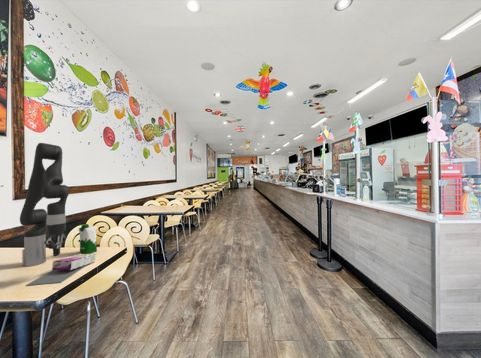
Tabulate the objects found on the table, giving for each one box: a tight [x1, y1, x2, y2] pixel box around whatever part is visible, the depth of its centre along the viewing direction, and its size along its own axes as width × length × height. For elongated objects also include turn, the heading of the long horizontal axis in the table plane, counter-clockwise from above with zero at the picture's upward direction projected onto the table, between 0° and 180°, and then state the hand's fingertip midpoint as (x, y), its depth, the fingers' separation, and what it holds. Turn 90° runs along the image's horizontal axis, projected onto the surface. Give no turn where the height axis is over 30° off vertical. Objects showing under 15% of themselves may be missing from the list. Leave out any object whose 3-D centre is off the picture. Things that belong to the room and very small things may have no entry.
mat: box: [25, 265, 87, 287], centre depth 105 cm, size 15×20×1 cm
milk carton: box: [78, 223, 98, 254], centre depth 139 cm, size 9×9×20 cm
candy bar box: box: [51, 253, 97, 271], centre depth 114 cm, size 11×5×16 cm
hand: (56, 255), depth 104 cm, fingers closed
